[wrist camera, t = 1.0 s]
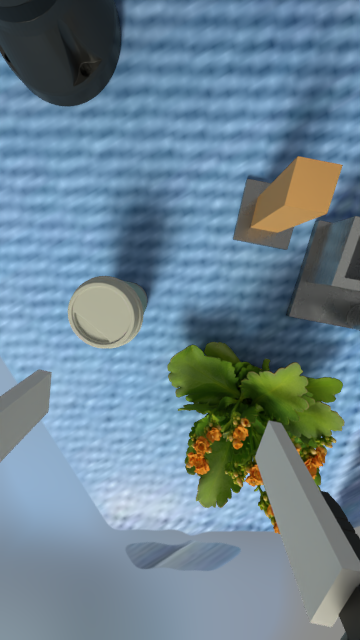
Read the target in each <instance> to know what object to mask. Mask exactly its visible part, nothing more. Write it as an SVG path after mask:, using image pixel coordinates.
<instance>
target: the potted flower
mask: <svg viewBox="0 0 360 640" xmlns="http://www.w3.org/2000/svg"><path fill="white" fill-rule="evenodd" d="M204 353H205V355H206V356H205V355H204ZM204 353H203V351H202V350H201V349H199V348H198V347H197V346H196V345H189V346H188V347H186V348H185V349H184V350H182V351H180V352H179V353H177V354H176V355H174V356H173V357H172V358H171V360H170V361H171V362H170V363H169V364H168V371H171V373H169V375H168V378H169V380H170V382H172V386H174V387H176V388H178V389H176V397H182V396H185V395H188V396H186V400H187V401H189V402H194V404H187V405H184V408H180V409H178V411H180V410H189V411H190V410H196V411H197V412H199V413H202V414H203V415H204V414H206V413H208V414H207V415H206V416H205V417H204V418H202V419H200V420H199V421H197V422H195V423H194V426H195V427H192V428H191V430H192V431H191V432H190V433H189V437H190V439H189V441H188V446H189V448H188V449H187V452H186V455H187V457H186V459H185V464H186V466H185V468H186V470H187V473H188V474H191V475H194V474H195V473H197V475H198V476H200V477H201V478H200V479H199V484H198V493H197V497H196V501H199V502H200V503H201V505H202V506H204V507H206V508H209V507H211V506H213V507H214V508H215V507H216V501H217V505H218V507H220V508H222V507H223V506H224V505H225V504H226V503H227V502H228V500H227V498H229V499H231V497H232V493H231V489H232V490H233V492H235V493H239V492H240V489H241V487H243V482H245V481H246V482H247V483H249V485H252V486H255V485H257V486H258V487H257V488H256V489H255V490H254V491H257V490H258V489H259V491H260V493H261V496H260V502H258V506H260V509H261V510H264V512H265V514H266V516H267V517H269V519H270V518H271V523H272V525H274V527H273V528H274V530H275V533H277V532H278V533H279V534H280V531H279V528H278V525H277V522H276V519H275V516H274V513H273V510H272V507H271V504H270V501H269V498H268V495H267V492H266V491H264V492H263V491H262V490H261V488H260V486H261V485H263V484H264V483H263V480H262V477H261V474H260V471H259V468H258V465H257V462H256V459H255V456H256V453H257V450H258V448H259V445H260V442H261V440H262V437H263V434H264V432H265V429H266V427H267V424H268V421H274V422H278V423H281V424H282V425H283V427H284V429H285V431H286V432H287V434H288V436H289V438H290V439H291V441H292V443H293V445H294V446H295V448H296V450H297V452H298V453H299V455H300V457H301V459H302V461H303V462H304V464H305V466H306V468H307V469H308V471H309V473H310V475H311V476H312V478H313V480H314V482H315V483H316V485H317V487H318V489H319V490H320V487H319V486H318V485H320V484H321V476H320V474H319V466H323V464H322V463H325V456H326V454H327V450H326V448H325V447H324V446H323V445H325V446H327V447H329V448H332V443H331V442H333V443H336V440H335V439H334V438H333V437H332V436H331V435H332V433H331V431H330V430H333V431H337V430H338V431H341V430H342V426H344V420H343V419H342V417H340V416H339V414H338V413H337V412H335V411H332V410H331V407H330V406H329V405H327V404H324V403H322V402H321V401H323V402H325V403H329V402H334V401H335V400H336V398H335V394H337V393H339V392H341V389H342V387H343V383H342V382H341V381H340V380H338V379H335V378H332V379H331V377H323V378H318V379H314V378H309V377H305V376H300V374H301V373H303V370H302V369H301V367H300V365H299V364H298V363H297V362H293V363H291V364H289V365H288V366H287V367H285V368H283V367H282V368H279V369H278V370H277V371H276V372H275V373H272V372H270V371H269V370H270V369H269V362H270V360H269V359H266V358H265V359H264V361H263V365H262V369H261V368H258V367H255V366H253V365H251V364H250V363H248V362H240V360H239V359H238V357H237V356H236V355H235V353H234V352H233V351H232V350H231V348H229V347H228V346H227V345H226V344H225V343H221V342H218V343H216V342H210V343H208V344H207V345H206V347H205V350H204ZM179 387H180V388H179ZM321 436H322V437H323V438H321ZM314 448H316V450H315V449H314ZM252 459H253V460H252ZM248 473H250V476H248V477H247V479H246V480H244V478H246V477H245V476H246V475H247V474H248ZM264 487H265V486H264ZM265 490H266V489H265ZM320 491H321V490H320Z"/></svg>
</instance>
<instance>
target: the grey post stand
mask: <svg viewBox="0 0 360 640" xmlns="http://www.w3.org/2000/svg"><path fill="white" fill-rule="evenodd" d="M286 315H287V316H290V317H295V318H300V319H305V320H311V321H316V322H321V323H326V324H331V325H336V326H342V327H347V328H352V329H356V330H359V331H360V217H358V216H354V217H351V218H348V219H344V220H341V221H338V222H335V223H331V222H325V221H320V220H319V221H316V222H315V224H314V227H313V231H312V234H311V237H310V240H309V243H308V247H307V250H306V253H305V256H304V260H303V263H302V266H301V269H300V273H299V276H298V279H297V282H296V285H295V289H294V292H293V295H292V298H291V302H290V305H289V308H288V311H287V314H286Z"/></svg>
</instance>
